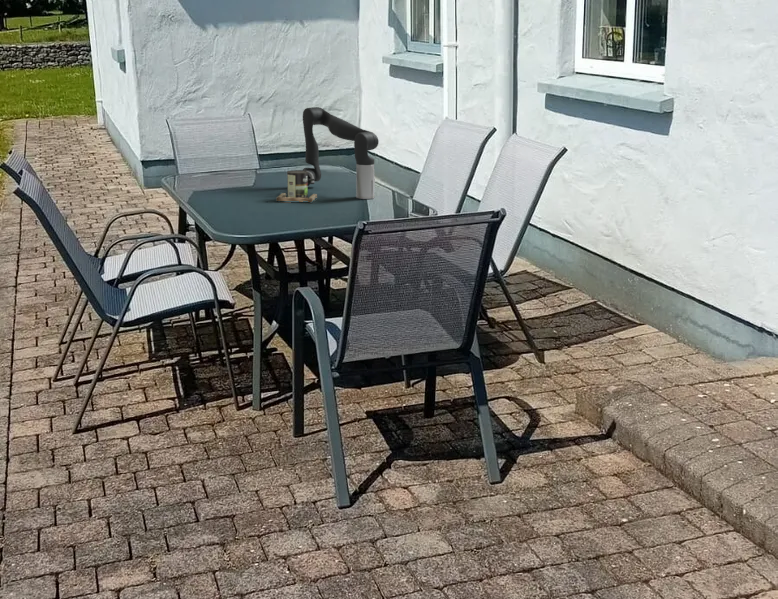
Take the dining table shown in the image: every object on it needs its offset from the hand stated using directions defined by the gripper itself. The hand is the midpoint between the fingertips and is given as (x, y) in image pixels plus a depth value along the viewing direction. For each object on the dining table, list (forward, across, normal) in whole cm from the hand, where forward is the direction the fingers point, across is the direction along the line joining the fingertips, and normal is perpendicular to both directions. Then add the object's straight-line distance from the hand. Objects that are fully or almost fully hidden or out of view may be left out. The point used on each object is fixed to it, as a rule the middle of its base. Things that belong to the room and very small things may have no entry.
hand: (299, 183), depth 499 cm
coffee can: (+5, 0, +8) cm, 9 cm away
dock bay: (+6, 0, +7) cm, 10 cm away
